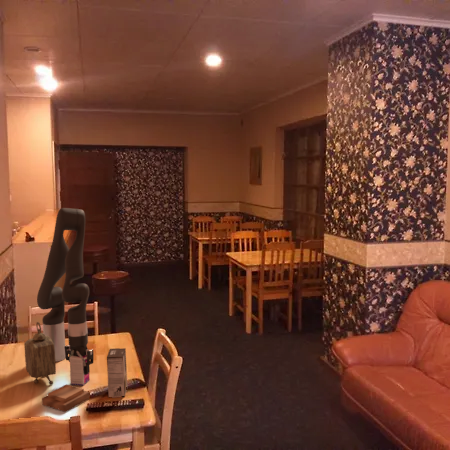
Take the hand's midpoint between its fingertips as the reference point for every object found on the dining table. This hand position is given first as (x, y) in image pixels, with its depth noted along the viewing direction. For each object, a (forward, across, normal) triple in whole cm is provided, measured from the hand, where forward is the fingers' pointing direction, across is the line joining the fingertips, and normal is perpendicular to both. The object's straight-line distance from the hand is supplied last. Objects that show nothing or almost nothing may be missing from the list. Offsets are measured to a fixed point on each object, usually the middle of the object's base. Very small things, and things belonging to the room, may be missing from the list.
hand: (80, 372), depth 204 cm
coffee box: (+5, +20, 0) cm, 20 cm away
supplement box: (+5, 0, 0) cm, 5 cm away
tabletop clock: (+5, -15, -7) cm, 17 cm away
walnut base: (+4, +8, -15) cm, 18 cm away
